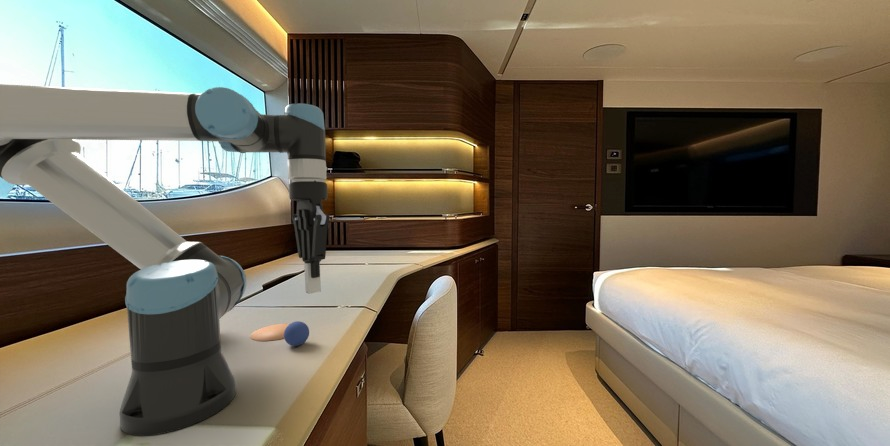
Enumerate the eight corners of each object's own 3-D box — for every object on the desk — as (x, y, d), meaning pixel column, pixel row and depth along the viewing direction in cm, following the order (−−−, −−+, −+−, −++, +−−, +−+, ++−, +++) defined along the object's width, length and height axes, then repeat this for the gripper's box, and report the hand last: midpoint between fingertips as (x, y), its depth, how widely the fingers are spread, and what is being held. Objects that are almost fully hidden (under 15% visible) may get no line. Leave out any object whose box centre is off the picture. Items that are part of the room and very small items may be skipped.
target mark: (303, 335, 89) (303, 334, 89) (249, 344, 84) (249, 343, 84) (299, 321, 100) (299, 320, 100) (251, 329, 94) (251, 328, 94)
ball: (311, 346, 82) (310, 323, 81) (285, 351, 79) (283, 327, 79) (308, 338, 86) (307, 316, 86) (283, 343, 84) (282, 320, 84)
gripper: (340, 180, 72) (344, 293, 74) (311, 183, 81) (316, 284, 83) (304, 178, 67) (309, 301, 68) (277, 182, 76) (283, 290, 77)
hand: (313, 291), depth 75 cm, fingers closed
